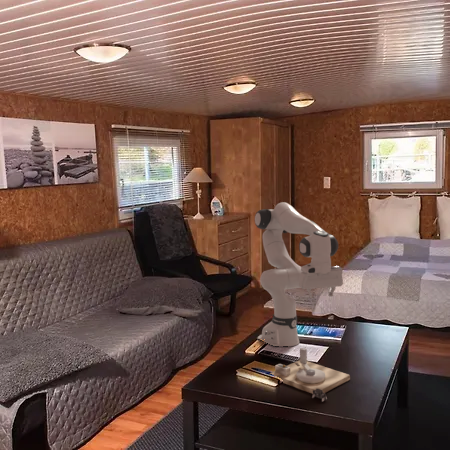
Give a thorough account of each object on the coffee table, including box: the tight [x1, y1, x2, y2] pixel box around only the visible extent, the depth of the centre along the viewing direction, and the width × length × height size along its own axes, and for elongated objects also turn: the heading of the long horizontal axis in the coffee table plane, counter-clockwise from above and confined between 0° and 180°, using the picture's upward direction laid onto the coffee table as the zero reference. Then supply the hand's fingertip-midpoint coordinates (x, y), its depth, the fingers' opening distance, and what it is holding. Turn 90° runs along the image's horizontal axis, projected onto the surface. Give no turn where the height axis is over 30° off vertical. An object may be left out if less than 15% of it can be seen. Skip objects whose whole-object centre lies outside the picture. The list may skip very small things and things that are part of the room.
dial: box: [296, 347, 325, 384], centre depth 223 cm, size 20×12×9 cm, turn 9°
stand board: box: [269, 359, 351, 394], centre depth 224 cm, size 26×22×6 cm
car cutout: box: [311, 389, 328, 403], centre depth 203 cm, size 15×7×4 cm, turn 45°
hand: (321, 297), depth 238 cm, fingers open, 8 cm apart
